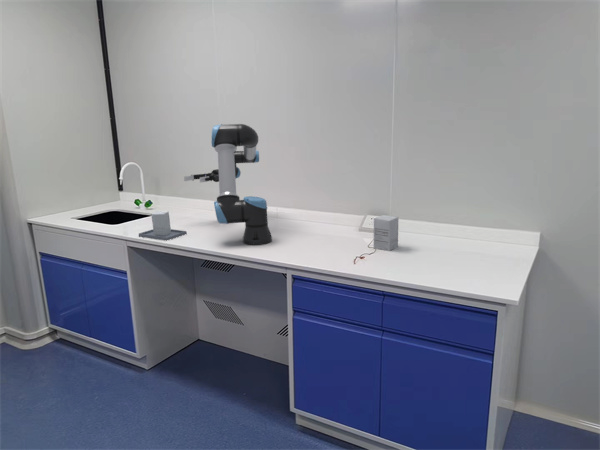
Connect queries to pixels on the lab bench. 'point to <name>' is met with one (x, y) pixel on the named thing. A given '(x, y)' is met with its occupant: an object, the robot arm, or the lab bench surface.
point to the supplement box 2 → (386, 232)
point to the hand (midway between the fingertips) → (192, 179)
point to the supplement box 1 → (161, 223)
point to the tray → (170, 236)
